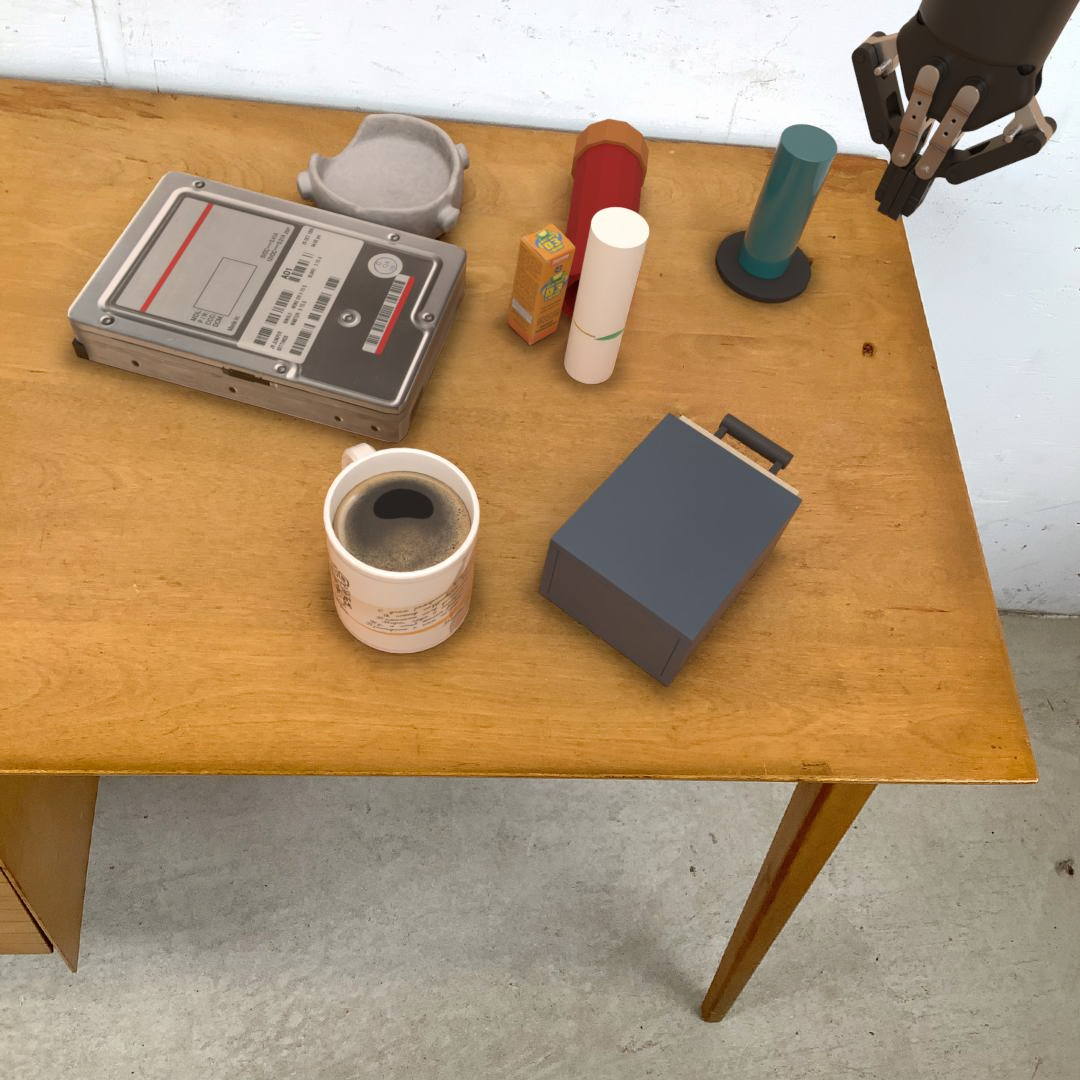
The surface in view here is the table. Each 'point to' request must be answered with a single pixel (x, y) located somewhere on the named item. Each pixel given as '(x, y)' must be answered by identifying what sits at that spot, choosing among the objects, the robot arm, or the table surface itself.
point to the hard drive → (273, 305)
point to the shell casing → (602, 185)
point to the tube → (605, 293)
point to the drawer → (750, 446)
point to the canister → (786, 200)
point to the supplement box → (540, 283)
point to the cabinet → (665, 546)
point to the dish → (392, 176)
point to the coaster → (757, 287)
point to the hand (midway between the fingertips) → (892, 210)
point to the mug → (401, 546)
